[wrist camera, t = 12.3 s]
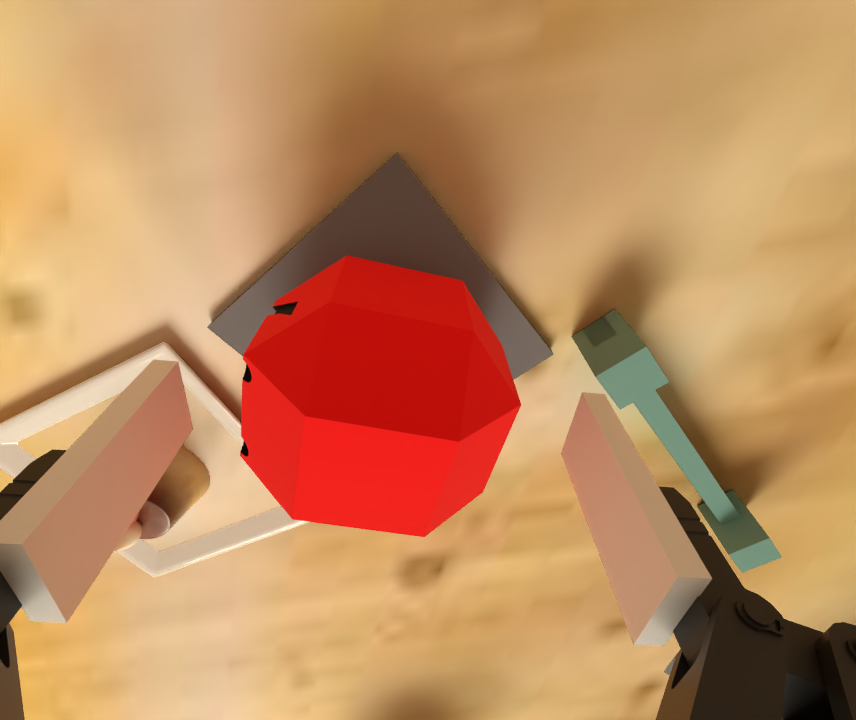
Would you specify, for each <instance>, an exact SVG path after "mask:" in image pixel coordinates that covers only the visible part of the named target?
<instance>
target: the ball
mask: <svg viewBox="0 0 856 720" xmlns="http://www.w3.org/2000/svg"><path fill="white" fill-rule="evenodd" d="M273 308H274V309H275V311H276V313H275V314H273V315H267V316H266V318H265V320H264V321H263V323H262V325H261V326H260V328H259V329H258V331H257V333H256V334H255V336H254V338H253V339H252V341H251V343H250V344H249V346H248V348H247V349H246V351H245V352H244V354H243V360H244V361H245V362H246V363H247V365H246V371H245V374H244V377H243V382H242V417H241V437H242V438H243V440H244V442H243V446H242V450H241V452H240V456H241V457H242V458H243V459H244V461H245V462H246V463H247V464H248V466H249V467H250V468H251V469H252V471H253V472H254V473H255V474H256V475H257V477H258V478H259V479H260V480H261V482H262V483H263V484H264V485H265V487H266V488H267V489H268V490H269V491H270V493H271V494H272V495H273V496H274V498H275V499H276V500H277V501H278V502H279V504H280V505H281V506H282V507H283V509H284V510H285V511H286V512H287V514H288V515H289V516H290V517H291V518H292V519H293V520H300V521H308V522H315V523H323V524H331V525H338V526H346V527H353V528H361V529H368V530H376V531H383V532H391V533H398V534H406V535H413V536H421V537H425V536H426V535H428V534H429V533H430V532H431V531H433V530H434V529H435V528H437V527H438V526H439V525H441V524H442V523H443V522H444V521H446V520H447V519H448V518H450V517H451V516H452V515H454V514H455V513H456V512H457V511H459V510H460V509H461V508H463V507H464V506H465V505H467V504H468V503H469V502H471V501H472V500H473V499H474V498H476V497H477V496H478V495H480V494H481V493H482V492H483V490H484V488H485V486H486V484H487V481H488V479H489V477H490V475H491V472H492V470H493V468H494V465H495V463H496V461H497V459H498V456H499V454H500V452H501V449H502V447H503V445H504V443H505V440H506V438H507V436H508V433H509V431H510V429H511V427H512V424H513V422H514V420H515V417H516V415H517V413H518V411H519V408H520V406H521V403H520V400H519V397H518V394H517V390H516V387H515V384H514V381H513V378H512V375H511V372H510V368H509V365H508V362H507V359H506V356H505V353H504V349H503V346H502V344H501V343H500V341H499V339H498V338H497V336H496V334H495V333H494V331H493V330H492V328H491V326H490V325H489V323H488V321H487V320H486V318H485V316H484V315H483V313H482V312H481V310H480V308H479V307H478V305H477V303H476V302H475V300H474V299H473V297H472V295H471V294H470V292H469V290H468V289H467V287H466V285H465V284H464V282H463V281H462V280H457V279H453V278H448V277H443V276H439V275H434V274H430V273H425V272H421V271H416V270H411V269H407V268H402V267H398V266H393V265H389V264H384V263H379V262H375V261H370V260H366V259H361V258H357V257H352V256H345V257H343V258H342V259H340V260H339V261H337V262H336V263H334V264H332V265H331V266H329V267H328V268H326V269H325V270H323V271H321V272H320V273H318V274H317V275H315V276H314V277H312V278H310V279H309V280H307V281H306V282H304V283H303V284H301V285H299V286H298V287H296V288H295V289H293V290H292V291H290V292H288V293H287V294H285V295H284V296H282V297H281V298H279V299H277V300H276V302H275V303H274V305H273Z"/></svg>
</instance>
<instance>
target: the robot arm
mask: <svg viewBox="0 0 856 720" xmlns="http://www.w3.org/2000/svg"><path fill="white" fill-rule="evenodd" d="M192 429H193V427H192V422H191V417H190V413H189V408H188V404H187V399H186V394H185V390H184V385H183V381H182V376H181V371H180V367H179V362H178V361H165V360H152V361H151V362H150V364H149V365H148V366H147V367H146V368H145V369H144V370H143V371H142V372H141V373H140V374H139V375H138V376H137V377H136V378H135V379H134V380H133V381H132V382H131V384H130V385H129V386H128V387H127V388H126V389H125V390H124V391H123V392H122V393H121V394H120V395H119V396H118V397H117V398H116V399H115V400H114V401H113V402H112V404H111V405H110V406H109V407H108V408H107V409H106V410H105V411H104V412H103V413H102V414H101V415H100V416H99V417H98V418H97V419H96V420H95V421H94V422H93V424H92V425H91V426H90V427H89V428H88V429H87V430H86V431H85V432H84V433H83V434H82V435H81V436H80V437H79V438H78V439H77V440H76V441H75V442H74V444H73V445H72V446H71V447H70V448H69V449H68V450H51V451H49V452H48V453H46V454H44V455H43V456H41V457H39V458H38V459H36V460H34V461H33V462H31V463H30V464H29V465H28V466H27V467H26V468H25V469H24V470H22V471H21V472H20V473H19V474H18V475H17V476H16V477H15V478H14V479H13V483H9V484H8V485H7V486H6V487H5V488H4V489H3V490H2V491H1V492H0V720H24V712H23V704H22V696H21V688H20V680H19V672H18V664H17V656H16V648H15V640H14V632H13V630H12V628H11V626H10V624H9V622H10V621H11V619H12V618H13V617H14V616H15V614H16V613H17V612H18V610H19V609H20V608H21V607H22V609H23V610H24V612H25V613H26V615H27V617H28V618H29V620H30V621H31V622H57V623H67V622H68V620H69V619H70V617H71V616H72V614H73V613H74V611H75V610H76V608H77V606H78V605H79V603H80V602H81V600H82V599H83V597H84V596H85V594H86V593H87V591H88V589H89V588H90V586H91V585H92V583H93V582H94V580H95V579H96V577H97V576H98V574H99V573H100V571H101V569H102V568H103V566H104V565H105V563H106V562H107V560H108V559H109V557H110V556H111V554H112V552H113V551H114V549H115V548H116V546H117V545H118V543H119V542H120V540H121V539H122V537H123V536H124V534H125V532H126V531H127V529H128V528H129V526H130V525H131V523H132V522H133V520H134V519H135V517H136V516H137V514H138V512H139V511H140V509H141V508H142V506H143V505H144V503H145V502H146V500H147V499H148V497H149V495H150V494H151V492H152V491H153V489H154V488H155V486H156V485H157V483H158V482H159V480H160V479H161V477H162V475H163V474H164V472H165V471H166V469H167V468H168V466H169V465H170V463H171V462H172V460H173V459H174V457H175V455H176V454H177V452H178V451H179V449H180V448H181V446H182V445H183V443H184V442H185V440H186V438H187V437H188V435H189V434H190V432H191V431H192ZM561 454H562V457H563V459H564V462H565V465H566V467H567V470H568V473H569V475H570V478H571V481H572V483H573V486H574V489H575V491H576V494H577V497H578V499H579V502H580V505H581V507H582V510H583V512H584V515H585V518H586V520H587V523H588V526H589V528H590V531H591V534H592V536H593V539H594V542H595V544H596V547H597V550H598V552H599V555H600V558H601V560H602V563H603V565H604V568H605V571H606V573H607V576H608V579H609V581H610V584H611V587H612V589H613V592H614V595H615V597H616V600H617V603H618V605H619V608H620V610H621V613H622V616H623V618H624V621H625V624H626V626H627V629H628V632H629V634H630V637H631V640H632V642H633V645H649V646H664V645H665V644H666V642H667V641H668V640H669V638H670V637H671V635H672V634H673V633H674V635H675V637H676V639H677V641H678V643H679V646H680V648H681V649H680V651H679V652H678V653H677V655H676V656H675V657H674V659H673V660H672V661H671V663H670V664H669V665H668V667H667V668H666V669H665V671H664V672H665V673H666V674H668V675H669V674H670V676H669V680H668V683H667V686H666V689H665V692H664V695H663V699H662V702H661V705H660V708H659V711H658V714H657V717H656V720H856V626H855V625H852V624H848V623H844V622H842V623H834V624H833V625H832V626H831V627H830V628H829V629H828V630H827V631H826V632H824V633H823V632H820V631H817V630H814V629H811V628H809V627H806V626H803V625H800V624H797V623H794V622H791V621H788V620H786V619H783V617H782V615H781V614H780V613H779V612H778V611H777V610H776V609H775V608H774V606H773V605H772V604H771V603H769V602H768V601H766V600H765V599H764V598H762V597H761V596H760V595H758V594H756V593H753V592H751V591H749V590H747V589H745V588H744V587H743V586H742V584H741V583H740V581H739V579H738V578H737V576H736V575H735V573H734V572H733V570H732V568H731V567H730V565H729V564H728V562H727V561H726V559H725V557H724V556H723V554H722V553H721V551H720V550H719V548H718V546H717V545H716V543H715V542H714V540H713V539H712V537H711V536H709V535H708V533H709V532H708V531H707V529H706V528H705V526H704V524H703V523H702V522H700V518H699V517H698V515H697V513H696V512H695V510H694V509H693V507H692V506H691V504H690V502H688V501H687V500H686V499H685V498H684V497H683V496H682V495H681V494H680V493H679V492H678V491H677V490H675V489H674V488H671V487H658V485H657V483H656V482H655V480H654V478H653V476H652V475H651V473H650V471H649V470H648V468H647V466H646V465H645V463H644V461H643V459H642V458H641V456H640V454H639V453H638V451H637V449H636V447H635V446H634V444H633V442H632V441H631V439H630V437H629V435H628V434H627V432H626V430H625V429H624V427H623V425H622V424H621V422H620V420H619V418H618V417H617V415H616V413H615V412H614V410H613V408H612V406H611V405H610V403H609V401H608V400H607V398H606V396H605V394H596V393H582V394H581V397H580V400H579V403H578V406H577V409H576V412H575V415H574V418H573V421H572V423H571V426H570V429H569V432H568V435H567V438H566V441H565V444H564V447H563V450H562V452H561Z"/></svg>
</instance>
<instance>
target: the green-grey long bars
mask: <svg viewBox="0 0 856 720" xmlns="http://www.w3.org/2000/svg"><path fill="white" fill-rule="evenodd" d="M572 338H573V339H574V341H575V343H576V345H577V346H578V348H579V350H580V351H581V353H582V355H583V356H584V358H585V360H586V361H587V363H588V365H589V367H590V368H591V370H592V372H593V373H594V375H595V377H596V378H597V379H598V381H599V382H600V383H601V385H602V386H603V387H604V389H605V390H606V391H607V393H608V394H609V395H610V397H611V398H612V399H613V401H614V402H615V403H616V405H617V406H618V407H619V409H622V408H624V407H626V406H627V405H629V404H631V403H634V404H635V406H636V407H637V408H638V410H639V411H640V413H641V414H642V415H643V417H644V418H645V420H646V421H647V422H648V424H649V425H650V426H651V428H652V429H653V431H654V432H655V433H656V435H657V436H658V438H659V439H660V440H661V442H662V443H663V445H664V446H665V447H666V449H667V450H668V451H669V453H670V454H671V456H672V457H673V458H674V460H675V461H676V463H677V464H678V465H679V467H680V468H681V470H682V471H683V472H684V474H685V475H686V476H687V478H688V479H689V481H690V482H691V483H692V485H693V486H694V488H695V489H696V490H697V492H698V493H699V495H700V496H701V497H702V499H703V500H704V501H705V503H703V504H700V505H698V506H697V507H698V508H699V510H700V511H701V513H702V514H703V516H704V517H705V519H706V520H707V522H708V524H709V525H710V527H711V528H712V530H713V531H714V533H715V534H716V536H717V537H718V539H719V541H720V542H721V544H722V545H723V547H724V548H725V550H726V551H727V553H728V554H729V556H730V557H731V558H732V560H733V561H734V562H735V564H736V565H737V566H738V568H739V569H740V571H741V572H742V573H743V572H745V571H748V570H750V569H753V568H755V567H758V566H761V565H763V564H766V563H768V562H771V561H773V560H776V559H778V558H781V557H782V556H781V555H780V553H779V552H778V550H777V549H776V547H775V546H774V544H773V542H772V541H771V539H770V538H769V536H768V535H767V534H766V533H765V531H764V530H763V529H762V527H761V526H760V525H759V523H758V522H757V521H756V519H755V518H754V517H753V515H752V514H751V513H750V511H749V510H748V509H747V508H746V506H745V505H744V504H743V502H742V501H741V500H740V498H739V497H738V496H737V494H736V493H735V492H734V490H731V491H729V492H727V493H724V491H723V490H722V488H721V487H720V485H719V484H718V482H717V481H716V479H715V478H714V477H713V475H712V474H711V472H710V471H709V469H708V468H707V466H706V465H705V463H704V462H703V460H702V459H701V457H700V456H699V454H698V453H697V451H696V450H695V448H694V447H693V445H692V444H691V442H690V441H689V439H688V438H687V436H686V435H685V433H684V432H683V430H682V429H681V427H680V426H679V424H678V423H677V422H676V420H675V419H674V417H673V416H672V414H671V413H670V411H669V410H668V408H667V407H666V405H665V404H664V402H663V401H662V399H661V398H660V396H659V395H658V393H657V392H656V389H658V388H660V387H662V386H663V385H665V384H667V383H669V381H668V379H667V378H666V376H665V375H664V373H663V372H662V370H661V368H660V367H659V365H658V364H657V362H656V361H655V359H654V358H653V356H652V354H651V353H650V351H649V350H648V348H647V347H646V345H645V344H644V343H643V342H642V341H641V339H640V338H639V337H638V336H637V335H636V334H635V332H634V331H633V330H632V329H631V328H630V326H629V325H628V324H627V323H626V322H625V320H624V319H623V318H622V317H621V316H620V314H619V313H618V312H617V311H616V310H615V309H614V310H612V311H611V312H609V313H608V314H606V315H604V316H603V317H601V318H600V319H598V320H597V321H595V322H593V323H592V324H590V325H589V326H587V327H586V328H584V329H582V330H581V331H579V332H578V333H576V334H575V335H573V336H572Z"/></svg>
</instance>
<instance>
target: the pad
mask: <svg viewBox="0 0 856 720" xmlns="http://www.w3.org/2000/svg"><path fill="white" fill-rule="evenodd" d="M345 256H352V257H357V258H361V259H366V260H370V261H375V262H379V263H384V264H389V265H393V266H398V267H402V268H407V269H411V270H416V271H421V272H425V273H430V274H434V275H439V276H443V277H448V278H453V279H457V280H462V281H463V282H464V284H465V285H466V287H467V289H468V290H469V292H470V294H471V295H472V297H473V299H474V300H475V302H476V303H477V305H478V307H479V308H480V310H481V312H482V313H483V315H484V316H485V318H486V320H487V321H488V323H489V325H490V326H491V328H492V330H493V331H494V333H495V334H496V336H497V338H498V339H499V341H500V343H501V344H502V346H503V349H504V353H505V356H506V359H507V362H508V365H509V368H510V372H511V375H512V378H513V380H514V379H515V378H517V377H518V376H520V375H522V374H523V373H525V372H526V371H528V370H530V369H531V368H533V367H534V366H536V365H537V364H539V363H541V362H542V361H544V360H545V359H547V358H549V357H550V356H552V355H553V352H552V350H551V349H550V347H549V346H548V345H547V343H546V342H545V341H544V340H543V338H542V337H541V336H540V334H539V333H538V332H537V331H536V329H535V328H534V327H533V326H532V324H531V323H530V322H529V320H528V319H527V318H526V317H525V315H524V314H523V313H522V311H521V310H520V309H519V308H518V306H517V305H516V304H515V303H514V301H513V300H512V299H511V297H510V296H509V295H508V294H507V292H506V291H505V290H504V288H503V287H502V286H501V285H500V283H499V282H498V281H497V280H496V278H495V277H494V276H493V274H492V273H491V272H490V271H489V269H488V268H487V267H486V265H485V264H484V263H483V262H482V260H481V259H480V258H479V257H478V255H477V254H476V253H475V251H474V250H473V249H472V248H471V246H470V245H469V244H468V242H467V241H466V240H465V239H464V237H463V236H462V235H461V233H460V232H459V231H458V230H457V228H456V227H455V226H454V225H453V223H452V222H451V221H450V219H449V218H448V217H447V216H446V214H445V213H444V212H443V210H442V209H441V208H440V207H439V205H438V204H437V203H436V202H435V200H434V199H433V198H432V196H431V195H430V194H429V193H428V191H427V190H426V189H425V187H424V186H423V185H422V184H421V182H420V181H419V180H418V179H417V177H416V176H415V175H414V173H413V172H412V171H411V170H410V168H409V167H408V166H407V164H406V163H405V162H404V161H403V159H402V158H401V157H400V156H399V154H398V153H396V154H395V155H394V156H393V157H392V158H391V159H390V160H389V161H388V162H386V163H385V164H384V165H383V166H382V167H381V168H380V169H379V170H378V171H377V172H376V173H374V174H373V175H372V176H371V177H370V178H369V179H368V180H367V181H366V182H365V183H363V184H362V185H361V186H360V187H359V188H358V189H357V190H356V191H355V192H354V193H353V194H351V195H350V196H349V197H348V198H347V199H346V200H345V201H344V202H343V203H342V204H341V205H339V206H338V207H337V208H336V209H335V210H334V211H333V212H332V213H331V214H330V215H328V216H327V217H326V218H325V219H324V220H323V221H322V222H321V223H320V224H319V225H318V226H316V227H315V228H314V229H313V230H312V231H311V232H310V233H309V234H308V235H307V236H306V237H304V238H303V239H302V240H301V241H300V242H299V243H298V244H297V245H296V246H295V247H293V248H292V249H291V250H290V251H289V252H288V253H287V254H286V255H285V256H284V257H283V258H281V259H280V260H279V261H278V262H277V263H276V264H275V265H274V266H273V267H272V268H270V269H269V270H268V271H267V272H266V273H265V274H264V275H263V276H262V277H261V278H260V279H258V280H257V281H256V282H255V283H254V284H253V285H252V286H251V287H250V288H249V289H248V290H246V291H245V292H244V293H243V294H242V295H241V296H240V297H239V298H238V299H237V300H235V301H234V302H233V303H232V304H231V305H230V306H229V307H228V308H227V309H226V310H225V311H223V312H222V313H221V314H220V315H219V316H218V317H217V318H216V319H215V320H214V321H213V322H211V324H210V325H209V326H208V327H207V328H209V329H210V330H211V331H212V332H214V333H215V334H216V335H217V336H219V337H220V338H221V339H222V340H223V341H225V342H226V343H227V344H228V345H230V346H231V347H232V348H233V349H235V350H236V351H237V352H238V353H240V354H241V355H242V356H243V354H244V352H245V351H246V349H247V348H248V346H249V344H250V343H251V341H252V339H253V338H254V336H255V334H256V333H257V331H258V329H259V328H260V326H261V325H262V323H263V321H264V320H265V318H266V316H267V315H273V314H275V313H276V311H275V309H274V308H273V305H274V303H275V302H276V300H277V299H279V298H281V297H282V296H284V295H285V294H287V293H288V292H290V291H292V290H293V289H295V288H296V287H298V286H299V285H301V284H303V283H304V282H306V281H307V280H309V279H310V278H312V277H314V276H315V275H317V274H318V273H320V272H321V271H323V270H325V269H326V268H328V267H329V266H331V265H332V264H334V263H336V262H337V261H339V260H340V259H342V258H343V257H345Z"/></svg>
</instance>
